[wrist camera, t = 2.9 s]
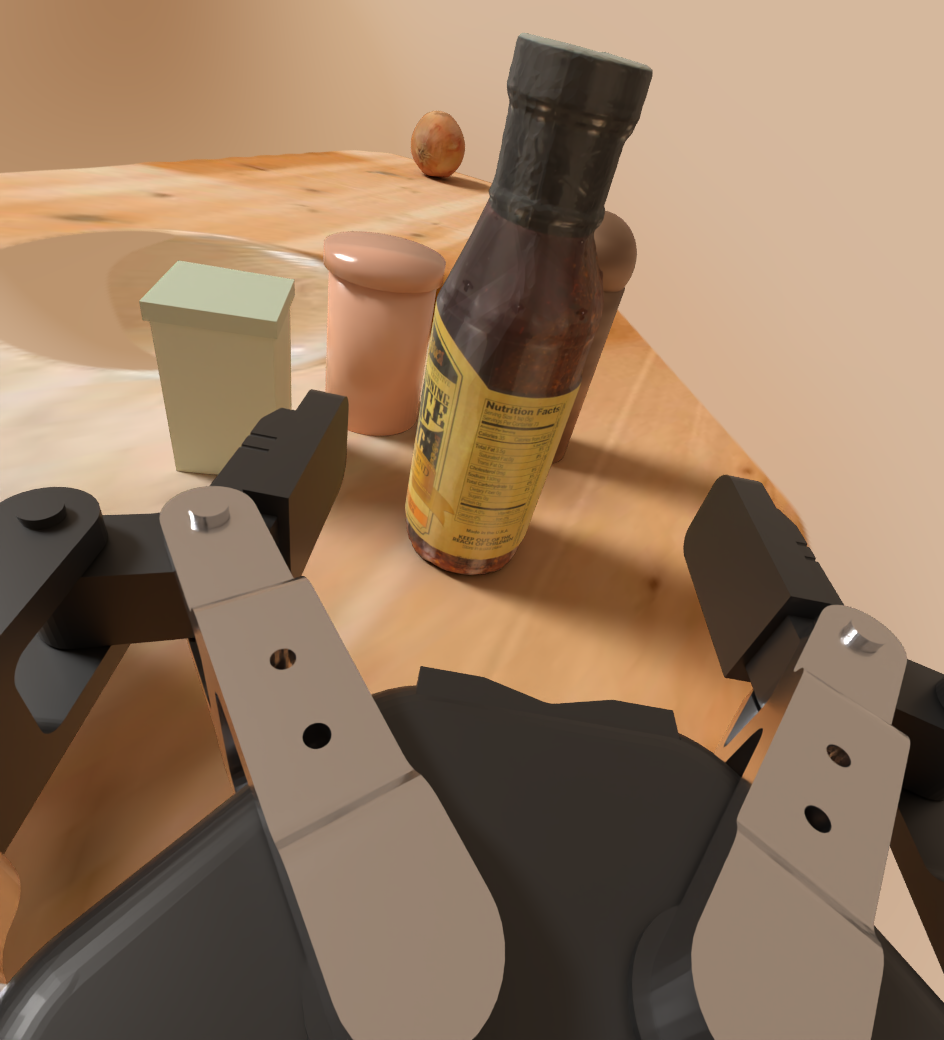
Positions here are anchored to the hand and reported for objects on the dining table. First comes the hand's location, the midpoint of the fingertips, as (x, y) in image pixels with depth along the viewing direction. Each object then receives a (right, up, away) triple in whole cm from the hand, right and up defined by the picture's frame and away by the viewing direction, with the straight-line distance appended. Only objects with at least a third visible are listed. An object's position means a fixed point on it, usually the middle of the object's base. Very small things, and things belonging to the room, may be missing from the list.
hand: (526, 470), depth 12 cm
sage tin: (-14, +3, +19) cm, 24 cm away
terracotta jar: (-8, +6, +25) cm, 27 cm away
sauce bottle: (-2, -2, +17) cm, 17 cm away
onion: (-8, +63, +91) cm, 111 cm away
